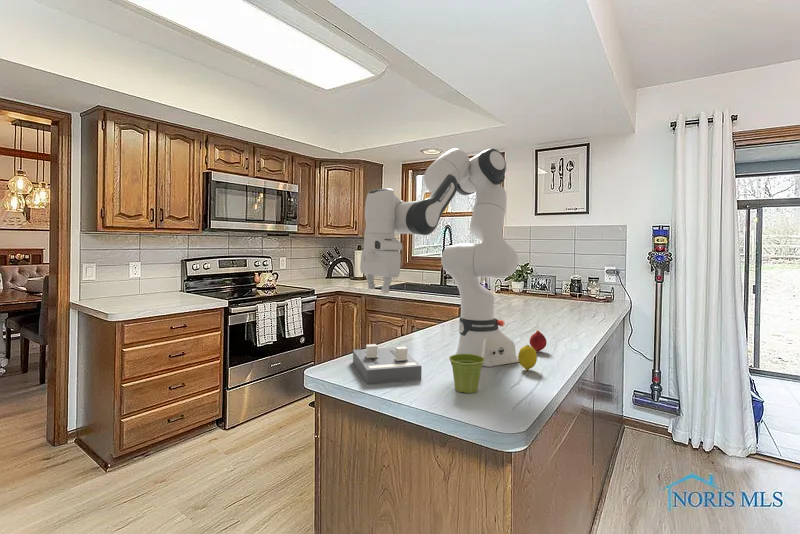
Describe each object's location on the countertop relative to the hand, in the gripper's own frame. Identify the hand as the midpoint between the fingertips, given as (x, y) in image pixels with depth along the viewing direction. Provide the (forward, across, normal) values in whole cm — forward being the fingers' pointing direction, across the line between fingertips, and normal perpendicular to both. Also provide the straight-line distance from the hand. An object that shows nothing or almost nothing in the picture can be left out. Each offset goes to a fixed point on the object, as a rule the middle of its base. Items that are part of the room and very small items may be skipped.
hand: (378, 290), depth 126 cm
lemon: (+24, +16, +45) cm, 53 cm away
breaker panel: (+25, -3, +5) cm, 26 cm away
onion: (+24, +2, +64) cm, 68 cm away
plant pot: (+25, +22, +17) cm, 37 cm away
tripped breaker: (+21, -5, +1) cm, 21 cm away
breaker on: (+21, +1, +8) cm, 22 cm away
